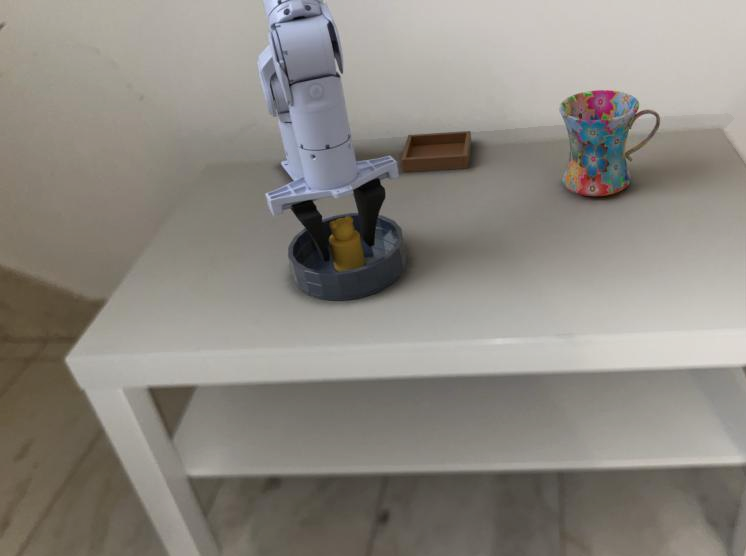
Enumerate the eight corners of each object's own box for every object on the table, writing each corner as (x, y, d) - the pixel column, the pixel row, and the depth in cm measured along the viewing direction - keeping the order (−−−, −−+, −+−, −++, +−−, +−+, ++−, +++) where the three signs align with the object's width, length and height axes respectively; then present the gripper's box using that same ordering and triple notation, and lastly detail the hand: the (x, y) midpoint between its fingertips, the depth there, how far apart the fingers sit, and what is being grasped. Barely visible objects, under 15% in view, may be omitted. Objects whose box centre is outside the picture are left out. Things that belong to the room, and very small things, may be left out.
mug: (564, 206, 95) (564, 124, 88) (555, 172, 102) (554, 94, 95) (663, 196, 94) (671, 113, 87) (647, 163, 101) (653, 83, 94)
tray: (402, 172, 107) (400, 159, 106) (409, 146, 114) (408, 134, 113) (468, 168, 106) (467, 155, 105) (471, 142, 112) (470, 130, 111)
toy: (330, 261, 90) (320, 217, 86) (358, 252, 91) (349, 207, 87) (340, 276, 87) (330, 230, 84) (369, 266, 88) (361, 220, 85)
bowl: (281, 259, 93) (274, 234, 91) (381, 226, 96) (376, 201, 94) (315, 314, 83) (308, 288, 81) (425, 275, 86) (421, 249, 84)
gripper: (267, 172, 75) (297, 286, 83) (402, 132, 79) (418, 245, 87) (249, 148, 80) (279, 257, 88) (377, 111, 84) (394, 220, 92)
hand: (346, 250), depth 88 cm, fingers open, 5 cm apart
